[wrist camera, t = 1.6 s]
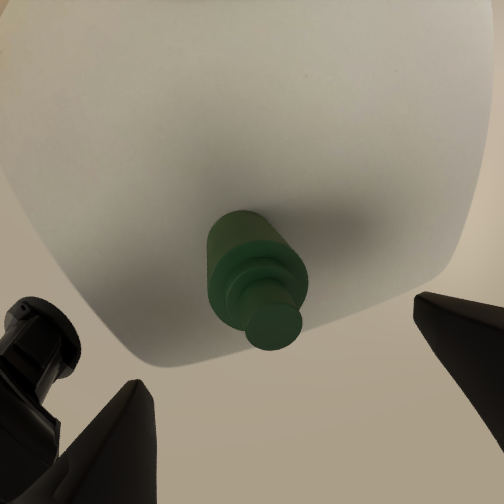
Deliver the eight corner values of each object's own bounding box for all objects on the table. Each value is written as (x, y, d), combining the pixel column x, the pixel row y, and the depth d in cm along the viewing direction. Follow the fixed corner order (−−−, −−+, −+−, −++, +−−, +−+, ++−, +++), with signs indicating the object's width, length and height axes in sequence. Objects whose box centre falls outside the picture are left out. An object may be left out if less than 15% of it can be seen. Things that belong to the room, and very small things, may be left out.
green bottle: (240, 289, 20) (267, 391, 11) (192, 244, 18) (180, 330, 9) (289, 245, 19) (356, 321, 10) (244, 195, 18) (282, 238, 9)
